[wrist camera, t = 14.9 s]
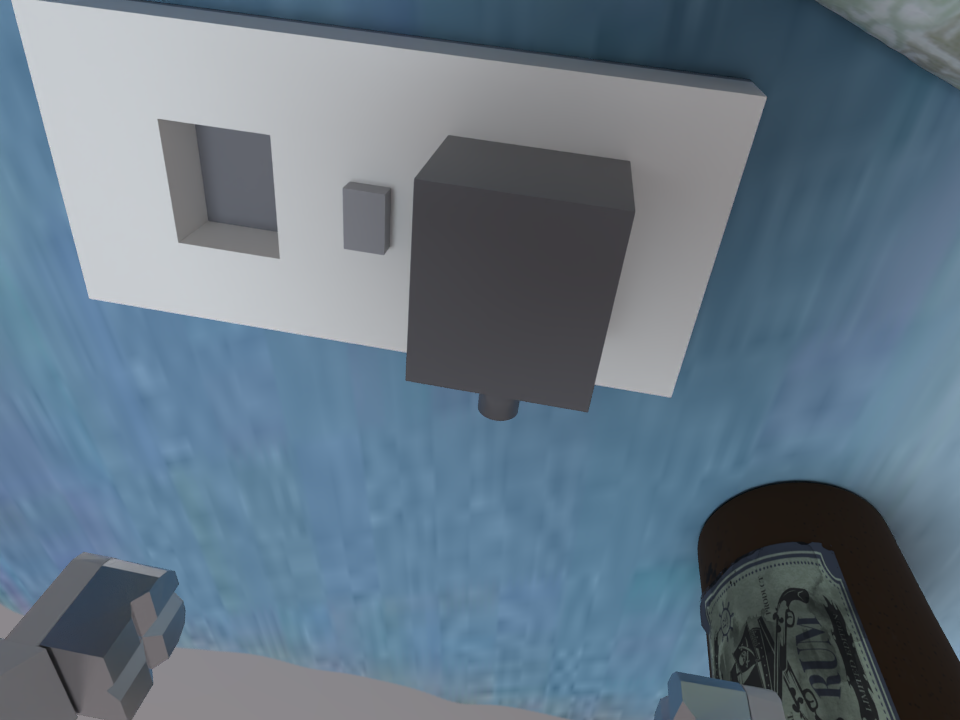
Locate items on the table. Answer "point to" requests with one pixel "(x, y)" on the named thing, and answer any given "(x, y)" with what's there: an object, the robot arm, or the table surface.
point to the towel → (911, 30)
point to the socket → (355, 164)
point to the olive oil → (821, 609)
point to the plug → (515, 271)
